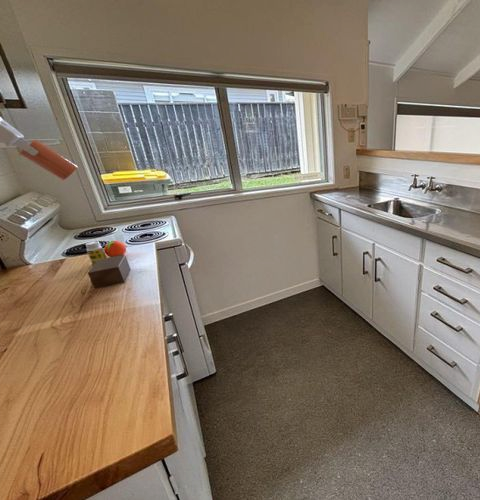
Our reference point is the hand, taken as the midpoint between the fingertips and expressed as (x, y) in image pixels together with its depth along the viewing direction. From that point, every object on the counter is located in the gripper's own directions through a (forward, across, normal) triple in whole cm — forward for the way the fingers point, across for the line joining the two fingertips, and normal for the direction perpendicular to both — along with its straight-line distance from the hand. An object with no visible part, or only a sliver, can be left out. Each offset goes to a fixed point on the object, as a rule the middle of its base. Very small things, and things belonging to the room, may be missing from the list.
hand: (37, 153), depth 85 cm
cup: (+3, 0, +3) cm, 4 cm away
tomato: (+39, +13, +18) cm, 45 cm away
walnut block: (+36, -10, +21) cm, 43 cm away
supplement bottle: (+36, +12, +23) cm, 44 cm away
